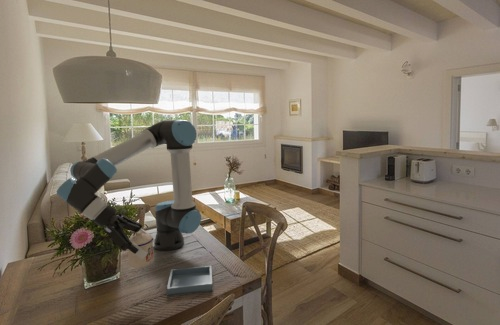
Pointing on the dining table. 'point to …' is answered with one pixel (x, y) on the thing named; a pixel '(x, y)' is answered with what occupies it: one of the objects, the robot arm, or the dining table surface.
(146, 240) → the teacup with lid
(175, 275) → the slate tray
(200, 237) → the dining table surface
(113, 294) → the dining table surface
